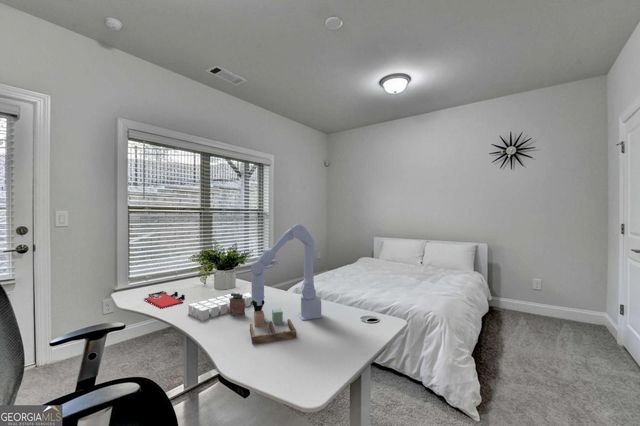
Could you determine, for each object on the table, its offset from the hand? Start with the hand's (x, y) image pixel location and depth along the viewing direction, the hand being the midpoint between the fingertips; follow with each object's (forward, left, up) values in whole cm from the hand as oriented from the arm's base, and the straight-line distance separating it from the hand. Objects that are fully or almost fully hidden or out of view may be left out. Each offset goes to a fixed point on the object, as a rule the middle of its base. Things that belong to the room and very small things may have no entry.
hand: (257, 316), depth 130 cm
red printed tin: (+9, -9, -1) cm, 13 cm away
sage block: (-8, +6, -1) cm, 10 cm away
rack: (-4, +18, -1) cm, 18 cm away
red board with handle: (+48, -45, -2) cm, 66 cm away
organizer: (+13, -20, -2) cm, 24 cm away
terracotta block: (0, +5, -1) cm, 6 cm away
